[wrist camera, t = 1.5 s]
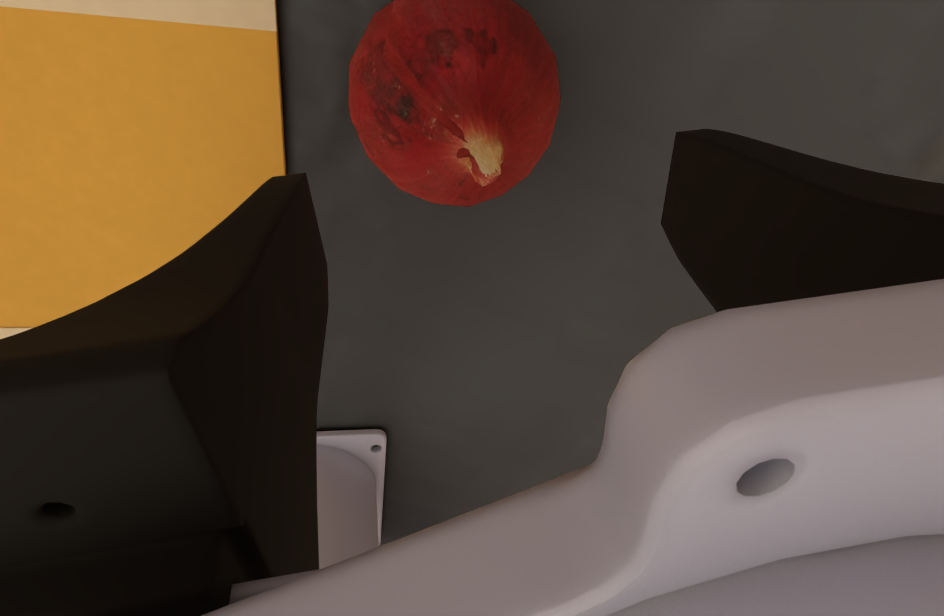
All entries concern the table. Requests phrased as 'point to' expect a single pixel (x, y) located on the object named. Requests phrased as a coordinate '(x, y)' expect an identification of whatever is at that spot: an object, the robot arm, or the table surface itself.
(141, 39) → the towel
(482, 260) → the table surface
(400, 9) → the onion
